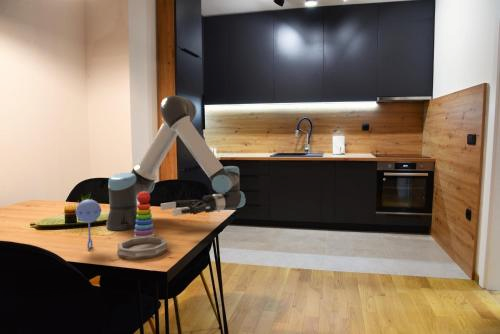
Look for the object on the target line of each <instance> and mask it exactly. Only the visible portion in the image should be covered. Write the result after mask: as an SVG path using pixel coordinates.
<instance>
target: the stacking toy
mask: <svg viewBox="0 0 500 334" xmlns="http://www.w3.org/2000/svg"><path fill="white" fill-rule="evenodd" d="M150 194H151V193H148V192H145V191H143V192H140V193H139V194H138V196H137V215H136V218H137V219H136V225H135V228H134V235H133V238H139V237H147V236H151V237H156V235H155V233H154V231H155V229H154V223H153V218H152V216H153V214H152V213H151V212H152V209H150V208H151V204H150V203H149V202H150V201H151V195H150Z"/></svg>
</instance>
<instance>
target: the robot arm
mask: <svg viewBox="0 0 500 334" xmlns="http://www.w3.org/2000/svg"><path fill="white" fill-rule="evenodd" d="M159 107H160V108H159V109H160V111H159V112H160V116H161V121H162V123H161V126H160V127H159V129H158V131H157V132H156V134H155V135H154V138H153V139H152V142H151V143H150V144H149V147H148V149H147V151H145V154H144V156H143V157H142V159H141V161H140V162H139V164H138V165H134V167H133V168H132V169H131V171H130V172H120V173H116V174H113V175H111V176H110V177H109V178H108V185H107V186H108V187H107V188H108V198H109V199H108V201H109V212H108V213H109V214H107V220H106V222H105V223H106V224H105V225H106V226H105V227H106V229H107V230H109V231H129V230H133V229H134V230H135V229H136V228H135V225H136V219H137V218H136V215H137V209H138V208H137V205H138V200H137V196H138V194H139V193H140V192H143V191H145V192H148V193H149V194H151V193H152V192H153V190H154V188H155V185H156V182H155V181H156V179H157V175H156V174H157V172H158V170H159V168H160V166H161V165H162V163H163V161H164V159H165V158H166V156H167V154H168V153H169V151H170V149H171V148H172V146H173V144H174V142H175V140H176V139H177V137H179V139H180V140H181V141H182V143H183V144H184V145H185V147H186V148H187V149H188V151H189V152H190V154H191V156H193V158H194V159H195V161H196V162H197V163H198V165H199V166H200V167H201V169H202V171H204V173H205V174H206V175H207V177H208V178H209V180H210V181H211V187H212V189H213V190H214V191H215V192H216V193H214V194H208V195H204V196H202V198H201V200H200V199H196V198H195V199H186V200H185V199H184V200H182V199H181V200H174V201H172V202H171V201H170V202H165V203H160V210H161V211H166V210H172V216H173V217H176V216H183V215H192V214H193V215H197V214H201V213H214V212H218V213H220V211H224V210H225V211H226V210H235V209H239V208H242V207H244V206H245V204H246V197H245V196H246V195H245V194H244V192H243V191H241V190H240V168H239V167H238V166H234V165H229V166H223V164H222V163H221V162H220V161H219V159H218V157H216V155H215V154H214V152H213V151H212V149H211V148H210V147H209V145H208V144H207V143H206V141H205V140H204V138H203V137H202V135H201V134H200V133H199V132H198V130H197V128H195V126H194V125H193V123H192V122H193V121H194V120H195V118H196V116H197V110H198V109H197V105H196V104H195V102H193V100H191V99H190V98H188V97H185V96H179V95H175V94H172V95H167V96H166V97H164V98H163V99H162V101H161V103H160V106H159Z"/></svg>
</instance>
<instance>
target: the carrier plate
mask: <svg viewBox="0 0 500 334" xmlns="http://www.w3.org/2000/svg"><path fill="white" fill-rule="evenodd" d="M116 252H117V257H118V256H119V257H118V258H120V257H121V258H120V259H122V258H124V259H123V260H127V259H132V260H131V261H141V259H143V260H148V258H150V259H153V257H154V258H158V257H160V256H162V254H163V255H164V254H166V253H167V252H168V241H166V239H165V238H164V237H159V236H154V237H151V236H147V237H139V238H134V237H133V238H128V239H126V240H124V241H122V242H119V243H117V251H116ZM157 256H158V257H157Z"/></svg>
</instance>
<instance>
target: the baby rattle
mask: <svg viewBox="0 0 500 334" xmlns="http://www.w3.org/2000/svg"><path fill="white" fill-rule="evenodd" d="M101 214H102V207H101V205H100V204H99V203H98V201H96V200H94V199H91V198H90V199H84V200H82V201H80V202H79V203H78V204H77V205H76V208H75V215H76V217H77V219H78V220H79V221H81V222H83V223H87V224H88V225H87V226H88V230H87V231H88V239H87V245H86V247H87V250H90V249H92V248H93V240H92V238H91V237H92V236H91V223H93V222H95V221H96V220H98V219H99V217H100V216H101Z"/></svg>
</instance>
